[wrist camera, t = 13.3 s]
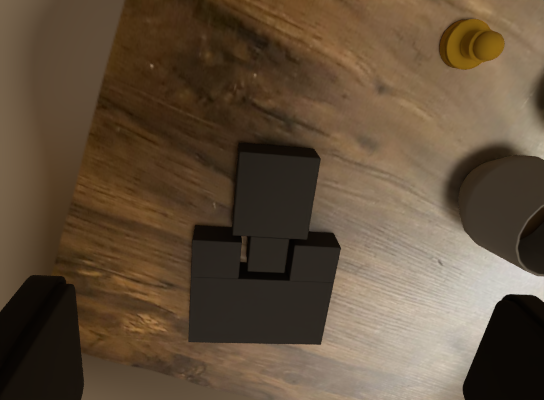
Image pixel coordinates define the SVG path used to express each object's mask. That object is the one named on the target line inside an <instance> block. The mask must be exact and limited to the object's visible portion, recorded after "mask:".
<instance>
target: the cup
mask: <svg viewBox="0 0 544 400" xmlns="http://www.w3.org/2000/svg"><path fill="white" fill-rule="evenodd" d="M458 204H459V214H460V217H461V221H462V225H463V228H464V230H465V232H466V233H467V234H468V235H469V236H470V237H471V239H472V240H473V241H474V242H475V243H476V244H478V245H479V246H481V247H483V248H485V249H487V250H488V251H490V252H492V253H494V254H496V255H497V256H499V257H501V258H503V259H505V260H507V261H508V262H510V263H512V264H514V265H516V266H518V267H519V268H521V269H523V270H525V271H527V272H529V273H532V274H534V275H536V276H544V160H543V159H541V158H539V157H535V156H522V155H513V156H509V157H505V158H501V159H497V160H493V161H489V162H486V163H483V164H481V165H480V166H478V167H476V168H475V169H473V170H472V171H471V172H470V173H469V175H468V176H467V177H466V178H465V179H464V181H463V183H462V185H461V187H460V190H459V198H458Z"/></svg>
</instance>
